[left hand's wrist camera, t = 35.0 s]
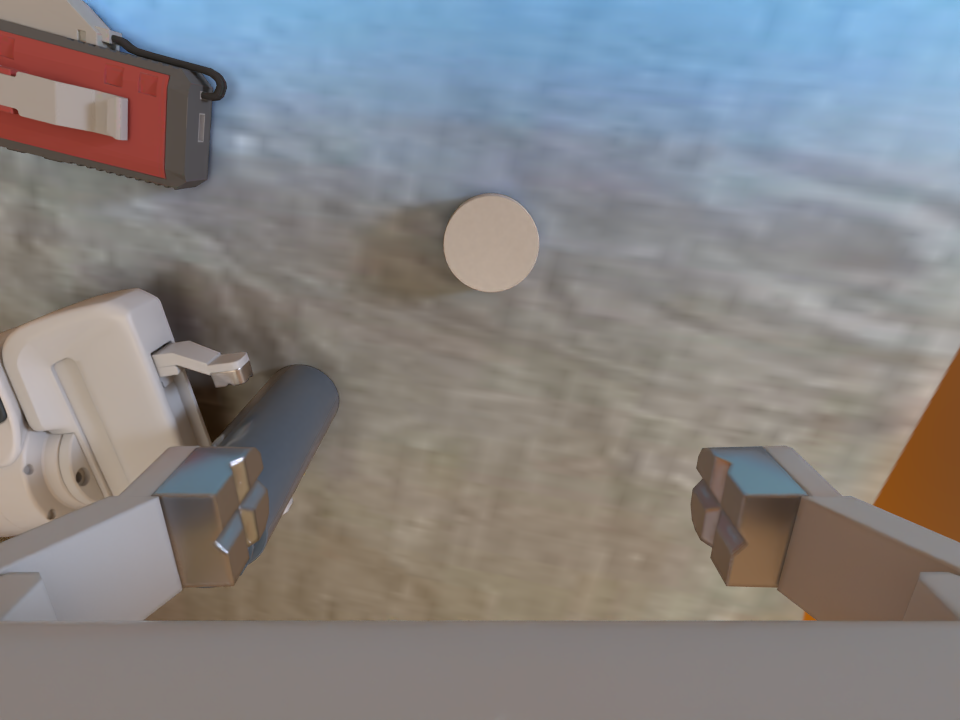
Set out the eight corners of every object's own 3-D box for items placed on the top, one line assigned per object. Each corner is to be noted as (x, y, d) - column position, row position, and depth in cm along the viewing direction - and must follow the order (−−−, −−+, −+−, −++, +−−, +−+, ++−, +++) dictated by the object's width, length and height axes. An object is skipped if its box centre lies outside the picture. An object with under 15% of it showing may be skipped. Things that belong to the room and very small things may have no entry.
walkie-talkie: (239, 41, 31) (-139, -64, 29) (202, 24, 27) (-240, -98, 25) (227, 196, 34) (-115, 111, 32) (192, 204, 30) (-202, 106, 28)
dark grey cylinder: (254, 407, 40) (119, 564, 25) (285, 351, 38) (161, 483, 23) (318, 441, 41) (226, 612, 26) (352, 388, 39) (274, 537, 24)
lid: (431, 263, 36) (428, 269, 34) (466, 177, 34) (466, 179, 32) (512, 299, 37) (514, 306, 35) (552, 216, 35) (555, 220, 33)
